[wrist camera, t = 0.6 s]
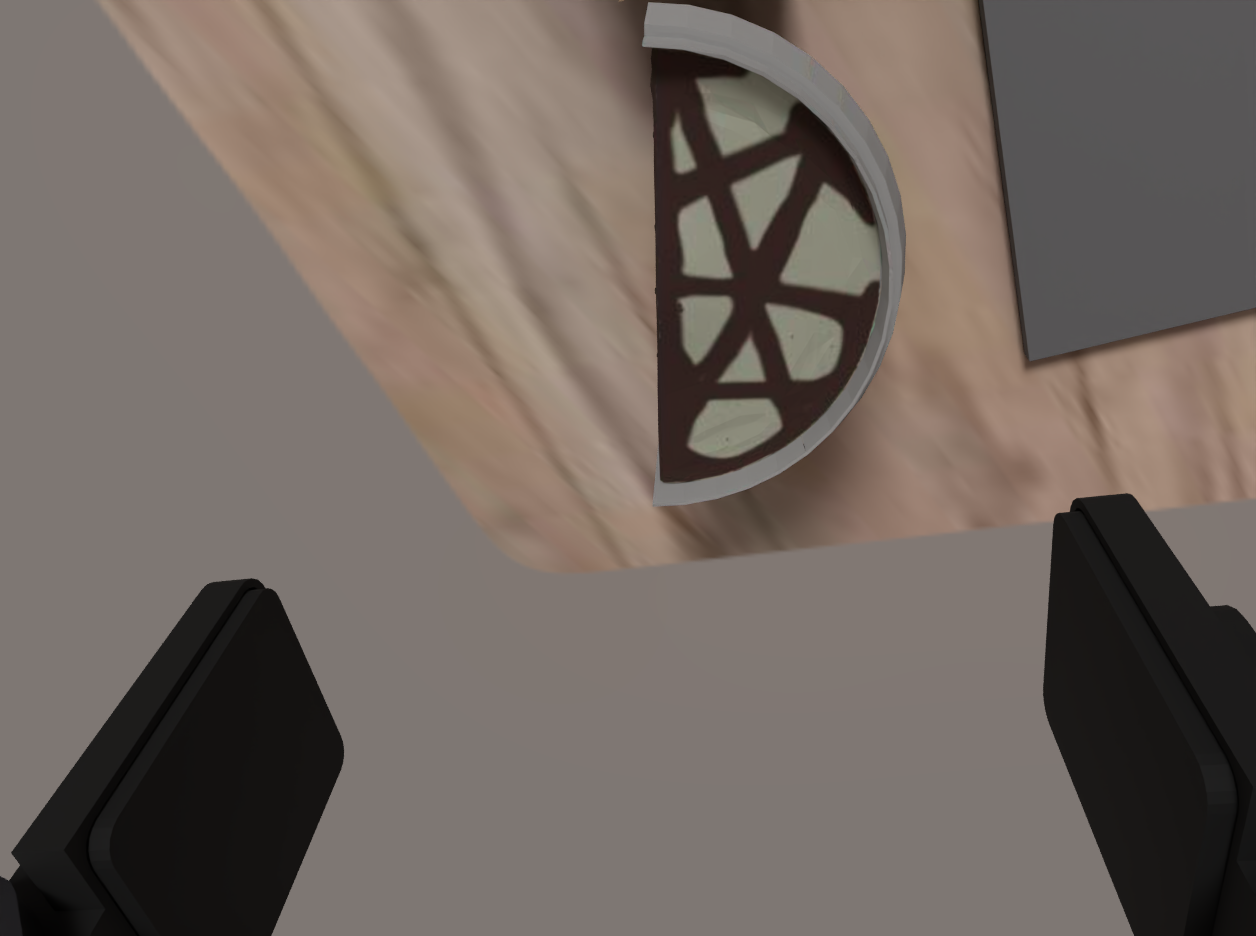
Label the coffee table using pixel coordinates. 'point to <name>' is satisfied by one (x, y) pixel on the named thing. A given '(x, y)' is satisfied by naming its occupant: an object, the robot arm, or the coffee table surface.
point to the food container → (761, 252)
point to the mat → (1125, 163)
